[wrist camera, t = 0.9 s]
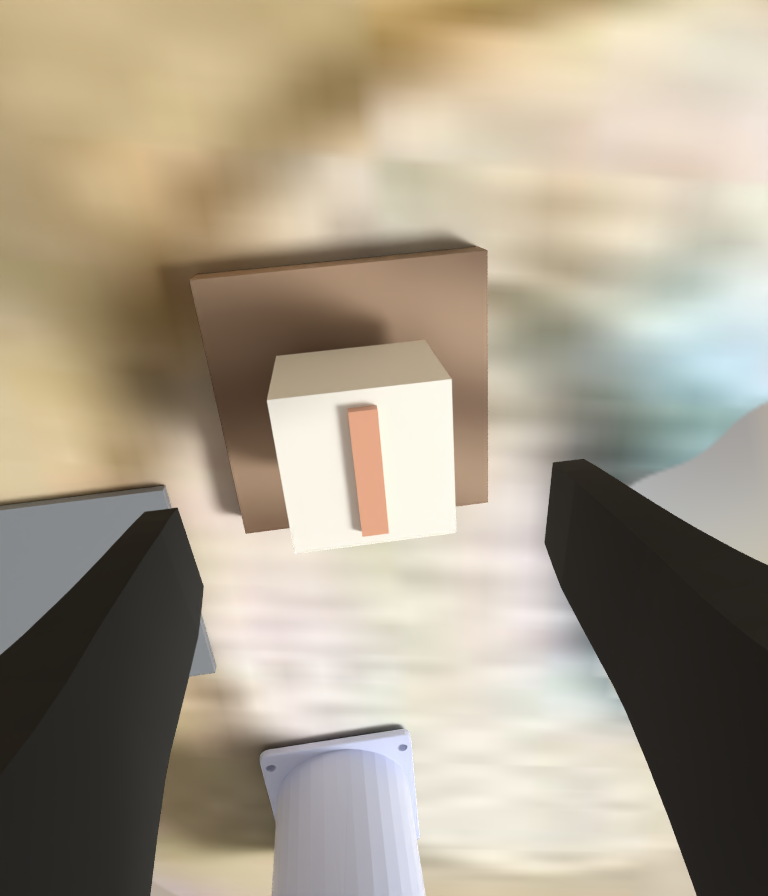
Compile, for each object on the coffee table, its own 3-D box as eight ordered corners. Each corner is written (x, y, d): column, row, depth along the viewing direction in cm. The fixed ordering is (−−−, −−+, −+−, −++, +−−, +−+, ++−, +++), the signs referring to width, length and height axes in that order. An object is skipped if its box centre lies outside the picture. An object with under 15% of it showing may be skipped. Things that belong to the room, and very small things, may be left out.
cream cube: (431, 470, 22) (458, 538, 17) (297, 486, 21) (294, 559, 17) (424, 339, 19) (454, 382, 15) (276, 356, 19) (266, 403, 15)
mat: (216, 666, 28) (214, 672, 27) (0, 697, 27) (-4, 704, 27) (164, 485, 23) (162, 490, 23) (-94, 517, 23) (-101, 522, 22)
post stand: (480, 488, 25) (526, 574, 20) (248, 517, 24) (230, 615, 19) (478, 246, 21) (537, 271, 15) (195, 274, 20) (152, 311, 15)
